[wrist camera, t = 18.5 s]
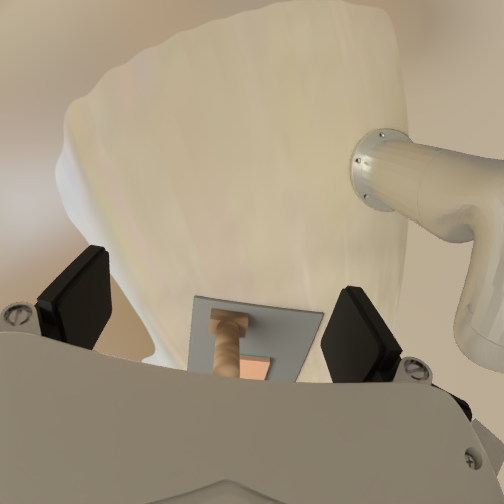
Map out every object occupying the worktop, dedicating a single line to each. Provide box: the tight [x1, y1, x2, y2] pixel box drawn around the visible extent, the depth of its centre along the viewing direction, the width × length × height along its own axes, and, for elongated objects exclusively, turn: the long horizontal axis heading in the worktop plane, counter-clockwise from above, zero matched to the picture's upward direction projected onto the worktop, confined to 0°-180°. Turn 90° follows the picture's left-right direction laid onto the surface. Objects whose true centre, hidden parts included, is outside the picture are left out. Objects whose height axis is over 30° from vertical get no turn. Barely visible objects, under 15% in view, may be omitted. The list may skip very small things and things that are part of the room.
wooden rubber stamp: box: [208, 308, 248, 378], centre depth 41 cm, size 6×4×13 cm, turn 79°
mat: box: [187, 296, 323, 382], centre depth 52 cm, size 22×24×1 cm
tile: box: [240, 354, 270, 380], centre depth 52 cm, size 8×2×10 cm
